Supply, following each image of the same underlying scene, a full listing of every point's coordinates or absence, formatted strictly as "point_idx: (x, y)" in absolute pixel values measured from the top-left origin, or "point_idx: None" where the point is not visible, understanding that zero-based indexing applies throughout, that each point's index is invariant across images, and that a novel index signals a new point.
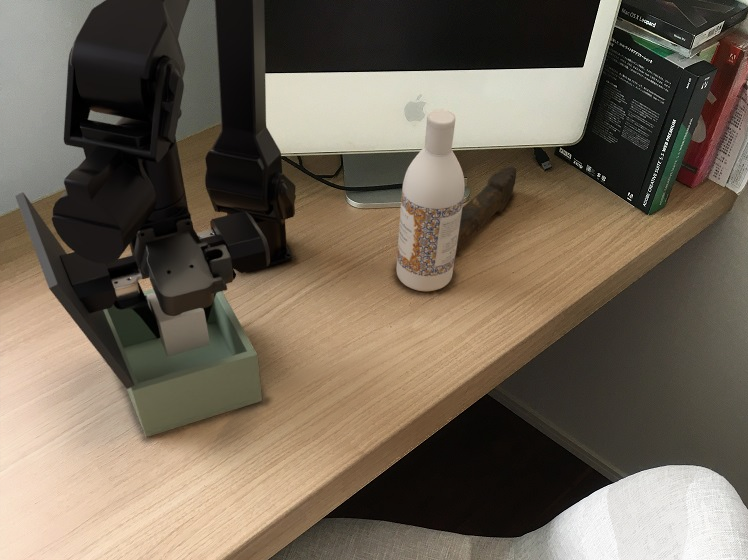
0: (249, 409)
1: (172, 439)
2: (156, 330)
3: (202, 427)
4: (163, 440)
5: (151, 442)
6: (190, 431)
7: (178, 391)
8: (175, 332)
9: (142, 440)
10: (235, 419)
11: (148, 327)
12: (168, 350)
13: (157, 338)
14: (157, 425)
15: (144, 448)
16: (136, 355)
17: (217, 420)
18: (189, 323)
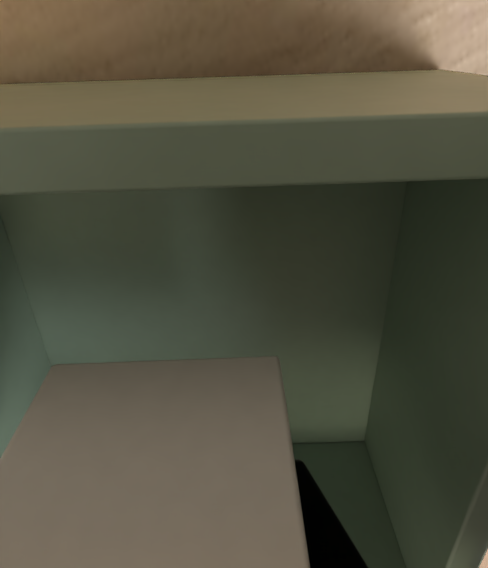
0: (6, 60)
1: (356, 13)
2: (307, 515)
3: (219, 33)
4: (390, 23)
5: (437, 32)
6: (272, 30)
7: (306, 99)
8: (205, 485)
9: (462, 60)
10: (73, 22)
11: (360, 555)
12: (270, 383)
13: (300, 460)
14: (405, 74)
15: (477, 8)
16: (328, 409)
17: (150, 49)
18: (83, 535)
